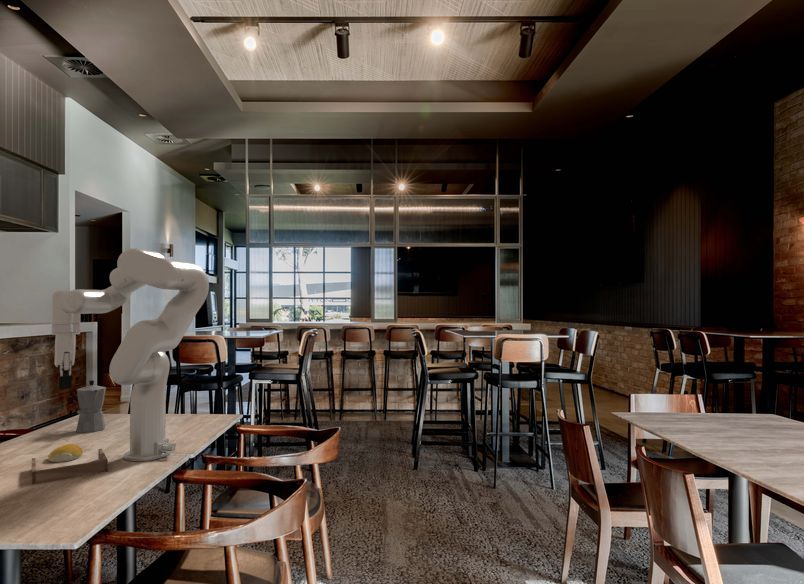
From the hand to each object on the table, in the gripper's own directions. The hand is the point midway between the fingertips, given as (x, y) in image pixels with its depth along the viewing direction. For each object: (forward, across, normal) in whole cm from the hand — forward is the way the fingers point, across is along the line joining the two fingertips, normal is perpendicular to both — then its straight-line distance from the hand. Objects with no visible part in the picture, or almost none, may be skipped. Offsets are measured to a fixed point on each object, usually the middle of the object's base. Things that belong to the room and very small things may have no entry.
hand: (65, 388), depth 161 cm
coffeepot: (+19, -27, +9) cm, 34 cm away
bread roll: (+20, +11, 0) cm, 23 cm away
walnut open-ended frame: (+19, +26, 0) cm, 32 cm away
